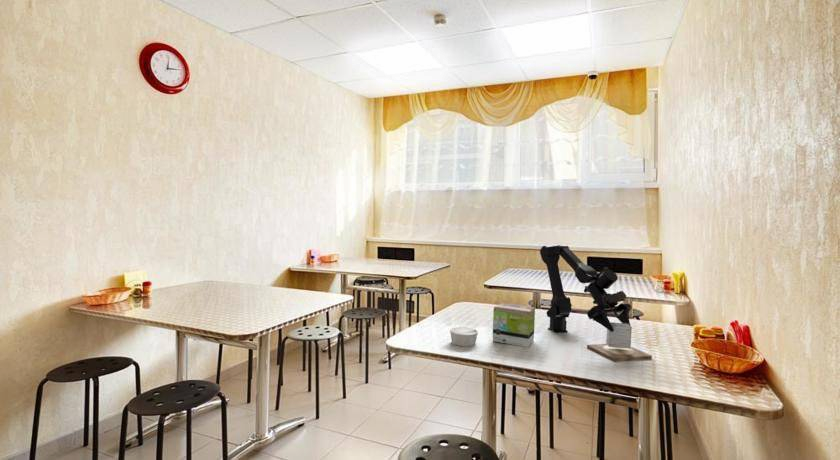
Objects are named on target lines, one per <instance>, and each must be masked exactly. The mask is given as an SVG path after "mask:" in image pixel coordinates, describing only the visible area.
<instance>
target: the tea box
mask: <svg viewBox="0 0 840 460" xmlns="http://www.w3.org/2000/svg"><path fill="white" fill-rule="evenodd" d="M535 315H536V307H535V306H527V305H520V304H519V305H518V304H513V303H504V302H500V303H498V304H497V305H495V306H494V307H493V316H492V317H493V318H492V342H494V343H495V342H497V343H502V344H508V345H513V346H517V347H523V348H527V349H528V348H529V347H530V346H531V344H532V343H533V342H534V341H535V340H534V339H535V338H534V337H535V322H536V321H535V319H536V317H535Z"/></svg>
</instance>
